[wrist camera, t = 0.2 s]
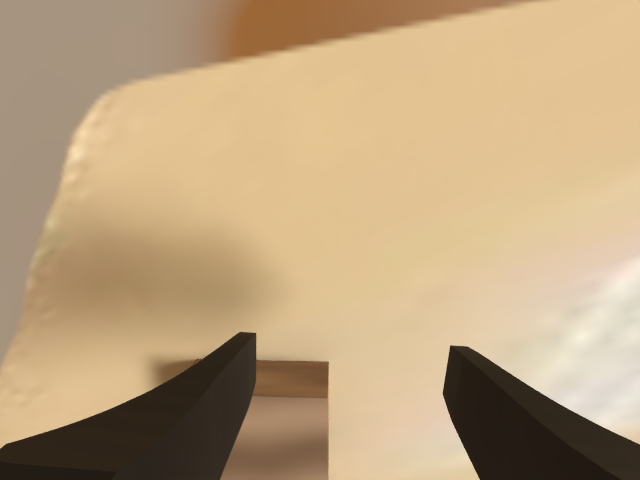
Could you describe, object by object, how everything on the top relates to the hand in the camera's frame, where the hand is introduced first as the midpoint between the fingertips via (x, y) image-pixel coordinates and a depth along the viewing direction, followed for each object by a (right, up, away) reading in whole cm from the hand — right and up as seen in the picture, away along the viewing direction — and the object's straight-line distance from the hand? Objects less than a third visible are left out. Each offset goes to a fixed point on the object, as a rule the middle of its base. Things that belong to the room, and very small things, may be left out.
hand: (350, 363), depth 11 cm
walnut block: (-5, -9, +13) cm, 17 cm away
